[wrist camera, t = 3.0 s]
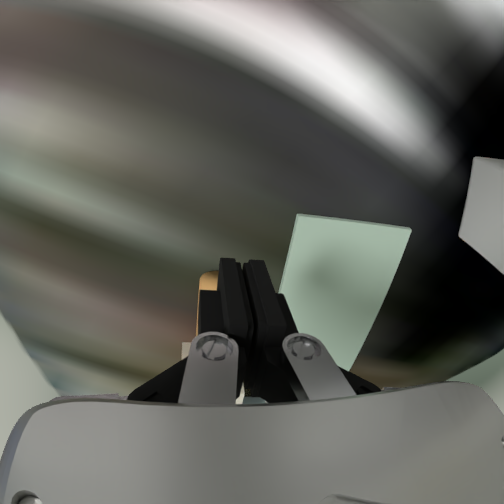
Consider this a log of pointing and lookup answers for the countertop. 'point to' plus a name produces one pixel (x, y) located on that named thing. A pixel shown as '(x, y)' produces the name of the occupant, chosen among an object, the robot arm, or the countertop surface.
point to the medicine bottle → (485, 211)
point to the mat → (340, 279)
